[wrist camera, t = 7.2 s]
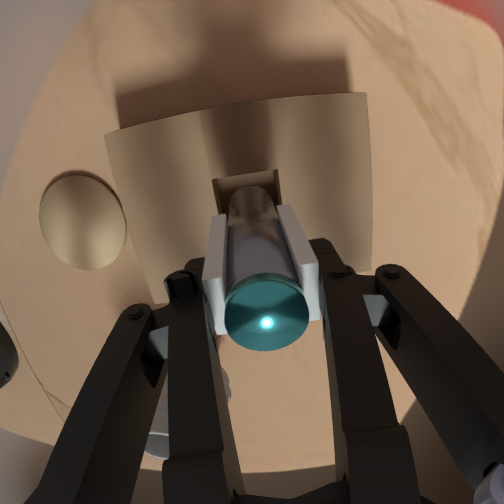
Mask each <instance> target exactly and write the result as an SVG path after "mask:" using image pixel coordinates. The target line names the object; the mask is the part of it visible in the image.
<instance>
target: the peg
mask: <svg viewBox="0 0 504 504" xmlns="http://www.w3.org/2000/svg"><path fill="white" fill-rule="evenodd" d="M309 315H310V314H309V308H308V305H307V302H306V299H305V296H304V293H303V290H302V287H301V285H300V283H299V280H298V277H297V274H296V271H295V268H294V265H293V262H292V259H291V256H290V253H289V249H288V246H287V244H286V241H285V238H284V235H283V232H282V229H281V226H280V223H279V220H278V215H277V213H276V210H275V207H274V204H273V201H272V198H271V196H270V195H269V193H268V192H267V191H266V190H264V189H263V188H261V187H258V186H253V185H250V186H244V187H242V188H240V189H238V190H237V191H236V192H235V193H234V194H233V195H232V197H231V199H230V202H229V214H228V248H227V275H226V296H225V313H224V324H225V328H226V331H227V333H228V335H229V336H230V337H231V338H232V339H233V340H234V341H235V342H236V343H237V344H239V345H241V346H243V347H245V348H248V349H251V350H256V351H272V350H277V349H280V348H283V347H286V346H288V345H290V344H291V343H293V342H294V341H296V340H297V339H298V338H299V337H300V336H301V335H302V334H303V333H304V331H305V330H306V328H307V325H308V323H309Z"/></svg>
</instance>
